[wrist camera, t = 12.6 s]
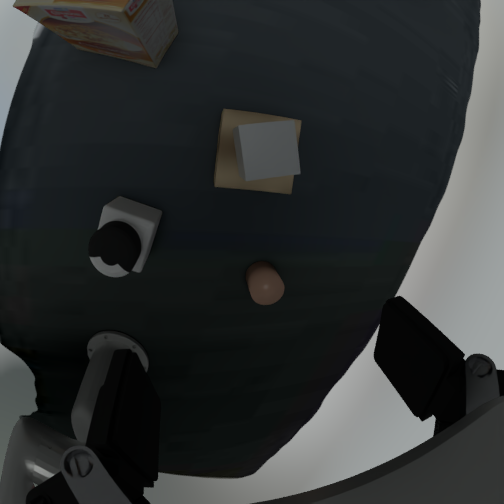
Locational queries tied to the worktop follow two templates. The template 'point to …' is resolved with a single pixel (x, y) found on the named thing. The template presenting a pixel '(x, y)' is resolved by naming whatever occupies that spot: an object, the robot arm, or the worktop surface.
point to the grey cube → (266, 150)
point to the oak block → (227, 160)
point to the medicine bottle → (123, 237)
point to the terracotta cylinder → (264, 283)
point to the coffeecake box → (110, 26)
